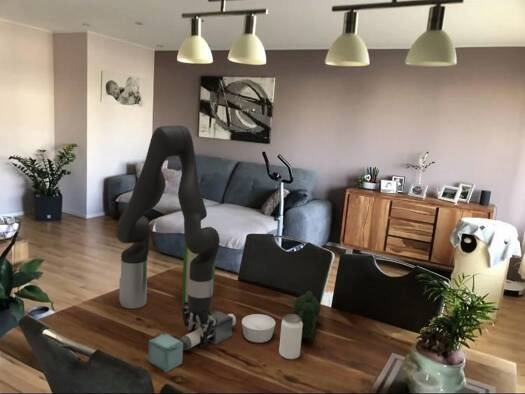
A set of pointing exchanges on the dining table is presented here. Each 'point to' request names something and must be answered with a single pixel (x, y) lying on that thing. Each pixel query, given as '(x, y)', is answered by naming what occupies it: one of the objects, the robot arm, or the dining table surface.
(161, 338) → the socket
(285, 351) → the can
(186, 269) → the hardback book
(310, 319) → the dark green lumpy piece
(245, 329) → the ramekin
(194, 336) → the tube
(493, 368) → the dining table surface
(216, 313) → the sleeve
